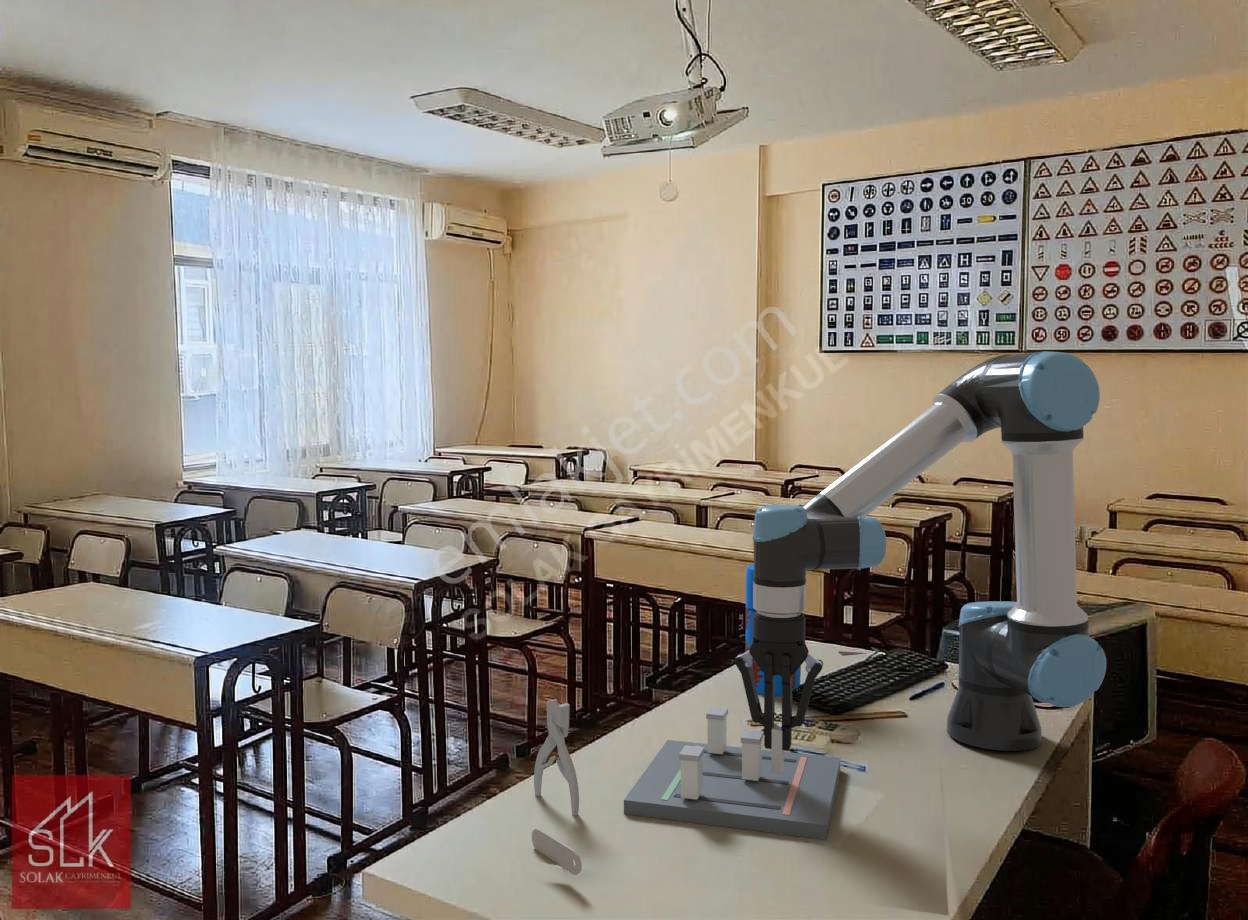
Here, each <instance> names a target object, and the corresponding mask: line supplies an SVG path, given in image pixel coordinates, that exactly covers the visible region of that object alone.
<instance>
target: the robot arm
mask: <svg viewBox="0 0 1248 920" xmlns="http://www.w3.org/2000/svg"><path fill="white" fill-rule="evenodd" d="M1100 393H1101V392H1100V386H1099V382H1098V380H1097V377H1096V375H1095V374H1094V371H1093V370H1092V369H1091V367H1090V366H1089V365H1087V364H1086V362H1085V361H1083V360H1082V359H1081V358H1079V356H1075V355H1073V354H1072V353H1068V352H1061V351H1060V352H1059V351H1049V350H1047V351H1046V350H1044V351H1038V352H1028V353H1027V352H1026V353H1017V354H1015V353H1014V354H1002V355H1001V354H1000V355H997V356H993V357H991V358H989V359H986V360H984V361H982V362H981V363H979V364H977V365H975V366H973V367H972V368H971V369H969V370H968V371H966V372H965V373H963V374H962V375H961V376H960V377H958V378H957V379H956V380H954V381H952V382H951V383H950V384H949V385H947V386H946V387H945V388H944V389H942V390H941V391H939V392H938V393H937V394H936V395H934V397H933V398H932V401H931V402H932V403H931V407H928V409H926V410H925V411H924V412H923V413H921V414H920V415H919V416H918V417H916V418H915V419H914V420H912V421H911V422H910V423H909V424H907V425H906V426H904V428H902V429H901V430H899V431H898V432H897V433H896V434H894V435H893V436H892V437H891V438H889V439H887V441H885V442H884V443H882V444H881V445H880V446H879V447H877V448H876V449H875V450H874V451H872V452H871V453H870V454H868V455H867V456H865V458H863V459H862V460H860V461H859V462H858V463H857V464H855V465H854V466H852V467H851V468H850V469H848V470H847V472H845V473H844V474H843V475H841V476H840V477H838V478H837V479H836V480H835V481H834V482H832V483H830V485H828V486H827V487H825V488H824V489H823V490H821V492H819V493H818V494H817V495H815V496H814V497H812V498H810V500H808V501H807V502H805V503H804V504H797V505H794V504H793V505H792V504H766V505H762V506H760V507H758V508H757V509H756V511H755V512H754V513H755V514H754V521H753V534H752V541H753V564H754V581H753V608H754V609H755V610H757V611H756V612H755V613H754V614H753V641H752V644H751V646H750V648H749V651H747V652H745V651H744V653H739V654H737V656H736V657H735V658H734V665H735V667H736V668H737V670H738V671H739V672H740V674H741V678H742V683H743V687H744V690H745V691H744V692H745V696H746V700H747V705H748V708H749V712H750V717H751V720H752V722H753V723H757V724H760V725H762V727H763V729H764V730H763V738H764V739H763V740H764V741H763V745H764V747H765V748H764V749H766V750H771V751H772V757H771V773H774V774H782V771H783V768H784V752H785V751H786V752H789V751H790V750H791V746H792V735H793V734H792V733H793V732H792V729H793V728H796V727H798V728H799V727H802V726H803V724H804V720H805V718H806V714H807V711H808V707H809V703H810V699H811V695H812V692H813V688H814V684H815V680H816V678H817V677H818V676H819V674H820V673H821V671H822V670H823V667H824V662H823V660H821V659H816V658H815V657H814V656H812V655H811V654H810V653H809V649H808V646H807V644H806V615H805V614H804V613H803V612H804V611H805V610H806V596H807V595H806V589H807V588H806V587H807V586H806V583H807V579H806V578H807V571H817V570H819V571H820V570H848V569H857V570H861V569H867V568H873V567H874V568H876V567H877V566H879V565H881V563H882V562H883V560H884V558H885V556H886V552H887V537H886V532H885V529H884V527H883V525H882V523H881V522H880V521H879V520H878V519H877V518H875V517H869V514H871V513H872V512H874V510H876V509H877V508H878V507H880V506H881V505H882V504H883V503H885V502H886V501H887V500H889V499H890V498H891V497H893V496H894V495H895V494H896V493H898V492H899V491H901V490H902V489H903V488H905V486H907V485H908V484H910V482H912V481H914V480H915V479H916V478H918V477H919V476H920V475H922V473H924V472H925V471H927V470H928V469H929V468H930V467H932V466H933V465H934V464H936V462H938V461H939V460H940V459H942V458H944V456H946V455H947V454H948V453H949V452H951V451H952V450H953V449H954V448H956V447H957V446H958V445H960V444H961V443H962V442H963V443H973V442H974V441H975V440H977V439H978V438H979V437H980V436H981V435H983V434H985V433H988V432H989V431H992V430H994V429H999V428H1000V432H1001V433H1000V434H1001V437H1000V438H1001V443H1002V444H1003V445H1004V446H1005V447H1006V448H1007V449H1008V450H1010V451H1011V455H1012V479H1013V480H1012V481H1013V483H1012V484H1013V511H1014V512H1013V513H1014V516H1013V517H1014V542H1015V544H1014V547H1015V577H1016V578H1015V579H1016V582H1015V583H1016V601H1003V600H1002V601H1000V600H999V601H997V600H996V601H995V600H993V601H975V602H968V603H966V604H964V605H963V606H962V607H961V609H960V614H959V620H958V628H959V634H958V637H959V638H958V688H957V690H956V694H955V696H954V698H953V701H952V704H951V707H950V709H949V712H948V715H947V719H946V731H947V732H946V733H947V734H948V735H949V736H950V737H951V738H953V739H954V740H956V741H958V742H960V743H962V744H966V745H968V746H973V747H977V748H980V749H988V750H992V751H993V750H994V751H1006V752H1008V751H1011V752H1012V751H1013V752H1014V751H1024V750H1025V751H1026V750H1031V749H1035V748H1036V747H1038V746H1039V745H1040V744H1041V743H1042V734H1043V733H1042V725H1041V722H1040V718H1039V716H1038V713H1037V709H1036V706H1035V703H1034V700H1033V699H1035V700H1037V701H1038V702H1040V703H1043V704H1044V703H1045V704H1048V705H1049V704H1050V705H1052V706H1055V707H1058V708H1070V707H1075V706H1078V705H1080V704H1083V703H1084V702H1086V701H1087V700H1089V699H1090V698H1091V697H1092V696H1093V694H1094V692H1096V691H1098V690H1099V688H1100V686H1101V685H1102V683H1103V680H1104V678H1105V675H1106V673H1107V672H1106V671H1107V657H1106V653H1105V651H1104V649H1103V648H1102V646H1101V645H1100V644H1099V643H1098V642H1097V641H1096V640H1095V639H1094V638H1092V637H1090V629H1089V626H1090V625H1089V624H1090V623H1089V616H1088V614H1087V613H1086V612H1085V610H1083V609H1082V608H1081V607H1080V606H1079V605H1078V593H1077V592H1078V590H1077V589H1078V587H1077V557H1076V556H1077V555H1076V554H1077V552H1076V523H1075V522H1076V519H1075V518H1076V514H1075V483H1074V481H1075V478H1074V477H1075V476H1074V450H1075V449H1076V448H1077V446H1079V445H1080V444H1081V443H1082V442H1083V441H1084V439H1085V438H1084V437H1085V436H1084V427H1085V426H1086V425H1087V424H1089V423H1090V422H1091V421H1092V419H1093V415H1094V414H1097V411H1098V408H1099V404H1100V397H1101V395H1100ZM866 516H868V517H866ZM752 657H753V659H754V660H755V662H756V663H757V665H758V666H759V667H760V669H761V670H762V671H763V672H764V695H763V706H764V708H763V710H762V705H761V701H760V697H759V694H758V692H757V688H756V684H755V679H754V675H753V671H752V668H751V665H752V663H753V662H752ZM804 662H805V668H804V669H805V671H806V672H807V674H806V676H805V680H804V684H803V689H802V690H801V696H800V699H799V702H798V706H797V709H796V713H795V714H794V715H793V694H792V680H793V674H794V673H795V672H796V671H797V670H798V668H799V667H800V666H801V667H802V665H803V664H804ZM775 675H779V676H782V696H781V723H775V719H776V717H775V713H776V711H775V702H776V700H775V699H776V696H775ZM763 711H764V712H763Z"/></svg>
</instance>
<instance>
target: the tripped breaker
mask: <svg viewBox="0 0 1248 920" xmlns="http://www.w3.org/2000/svg"><path fill="white" fill-rule="evenodd" d="M763 738H764V730H754V729H744V730H743V731H742V735H741V736H740V744H741V748H742V779H745V780H754V781H758V780H759V778H760V776H761V773H762V750H763V740H764V739H763Z"/></svg>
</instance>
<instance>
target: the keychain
mask: <svg viewBox="0 0 1248 920" xmlns="http://www.w3.org/2000/svg"><path fill="white" fill-rule="evenodd" d="M531 841H532V846H533V848H534V849H535V850H536V851H538V852H539V853H541V854H543V855H544V856H546V857H547V858H549V859H550V860H551V861H554V862H555V863H557V865H558V866H559V867H561V868H562V869H564V870H565V871H567V872H569V873H570V874H571V875H574V876H577V875H579V874H580V873H581V871H582V865H583V864H582V860H581V857H580V855H579V853H578V852H577V851H576V849H574V848H572V847H570V846H569V845H567V844H565V843H564V842H562V841H560V840H558V838H555V837H554V836H553V835H550V834H549V833H547V832H545V830H542V829H541V828H538V827H536V828H534V829H533V830H532V832H531ZM574 863H575V864H574Z"/></svg>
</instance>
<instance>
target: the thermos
mask: <svg viewBox="0 0 1248 920" xmlns="http://www.w3.org/2000/svg"><path fill="white" fill-rule="evenodd" d="M753 581H754V563H753V564H749V565H747V567H746V571H745V651H744V653H745V652H747V651H749V648H750V646H751V644H752V641H753V614H754V613H755V612H756V611H757V610H755V609H754V608H753ZM752 662H753V663H752V665H751V668H752V671H753V675H754V679H755V684H756V688H757V692H758V695H761V696H762V695H763V696H764V672H763V671H762V670H761V669H760V667H759V666H758V665H757V663H756V662H755V660H754V659H753V657H752ZM801 667H802V665H801V666H800V667H799V668H798V670H797V671H796V672H795V673H794V674H793V680H792V690H793V689H795V688H798V687H799V686H800V687H801V675H802V674H801V673H802V672H801V671H802V670H801V669H802V668H801ZM775 697H782V676H779V675H775Z"/></svg>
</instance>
